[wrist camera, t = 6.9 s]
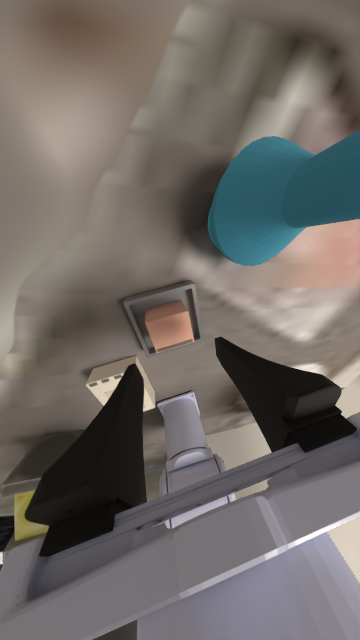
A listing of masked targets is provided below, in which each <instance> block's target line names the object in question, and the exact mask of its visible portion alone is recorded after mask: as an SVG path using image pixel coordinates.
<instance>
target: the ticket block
mask: <svg viewBox="0 0 360 640" xmlns="http://www.w3.org/2000/svg"><path fill="white" fill-rule="evenodd" d="M134 363H136V365H137V367H138V369H139V371H140V373H141V375H142V377H143V379H144V404H143V412H144V411H147V410H150V409H153V408H155V392H154V390H153V388H152V386H151V384H150V382H149V380H148V378H147V376H146V374H145V372H144V370H143V368H142V366H141V364H140V362H139V360H138V358H137V355H136V356H133V357H130V358H126V359H123V360H120V361H116V362H113V363H110V364H107V365H103V366H100V367H97V368H93V370H92V372H91V374H90V376H89V378H88V381H87V383H86V386H87V387H88V388H89V389H90V390H91V392H92V393H93V394H94V395H95V396H96V398H97V399H98V400H99V401H100V402H101V403H102V405H103V406H104V405H105V404H106V402H107V401H108V399H109V398H110V396H111V395H112V393H113V391H114V390H115V388H116V386H117V385H118V383H119V381H120V380H121V378H122V376H123V374H124V372H125V371H126V369H127V367H128V365H131V364H134Z"/></svg>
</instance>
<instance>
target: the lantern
mask: <svg viewBox="0 0 360 640" xmlns="http://www.w3.org/2000/svg"><path fill="white" fill-rule="evenodd" d="M84 431H85V430H82V431H74V432H67V433H59V434H51V435H43V436H41V437H40V438H39V439H38V441H37V442H36V443H35V444H34V446H33V447H32V448H31V449H30V451H29V452H28V453H27V454H26V455H25V457H24V458H23V459H22V460H21V462H20V463H19V464H18V465H17V467H16V468H15V469H14V470H13V471H12V473H11V474H10V475H9V476H8V478H7V479H6V480H5V481H4V483H3V484H2V485H1V489H2V497H5V496H10V495H14V507H15V532H14V534H13V536H12V537H11V539H10V541H9V543H8V544H7V546H6V548H5V549H4V551H3V563H4V562H5V560H6V558H7V556H8V554H9V552H10V550H11V549H12V548H13V547H16V546H18V545H21V544H24V543H26V542H29V541H31V540H34V539H37V538H40V537H46V534H47V531H48V528H49V526H47V525H42V524H37V523H33V522H30V521H27V520H26V519H25V517H24V514H25V511H26V509H27V507H28V505H29V503H30V500H31V498H32V496H33V494H34V492H35V490H36V488H37V486H38V484H39V482H40V479H41V477H42V475H43V474H44V473H45V472H46V471H47V470H48V469H49V468H50V467H51V466H52V465H53V464H54V463H55V462H56V461H57V460H58V459H59V458H60V457H61V456H62V455H63V454H64V453H65V452H66V451H67V450H68V449H69V447H70V446H71V445H72V444H73V443H74V442H75V441H76V440H77V439H78V438H79V437H80V435H81V434H82V433H83V432H84Z"/></svg>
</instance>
